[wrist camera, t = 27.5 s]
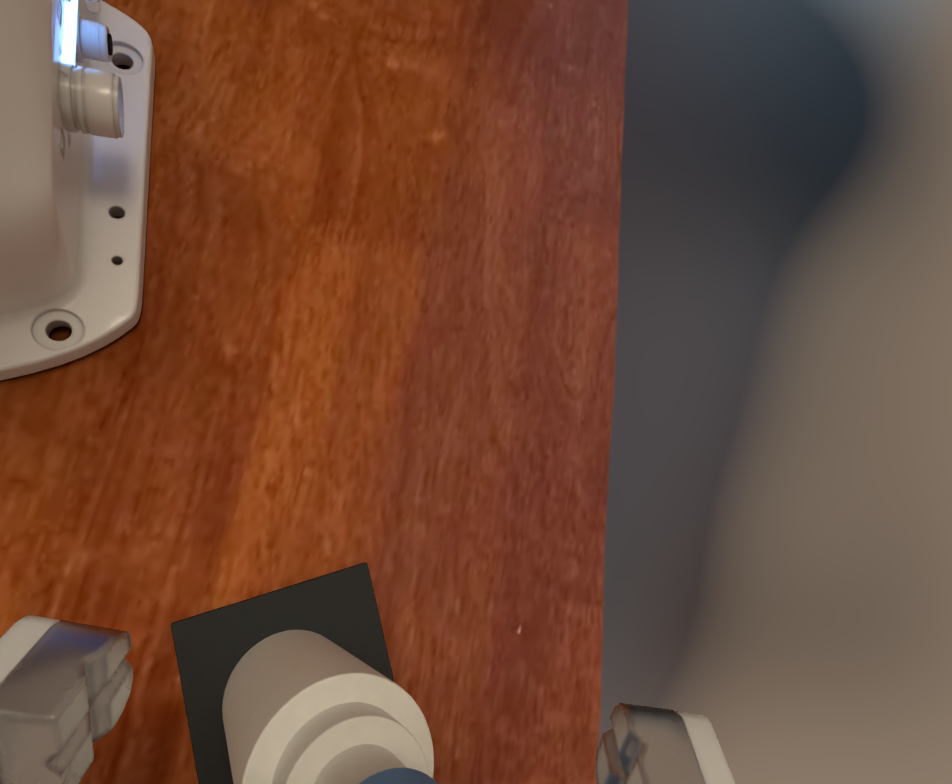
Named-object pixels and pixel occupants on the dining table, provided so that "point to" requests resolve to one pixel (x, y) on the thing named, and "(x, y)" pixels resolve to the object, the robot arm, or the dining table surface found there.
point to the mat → (250, 621)
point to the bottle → (320, 718)
